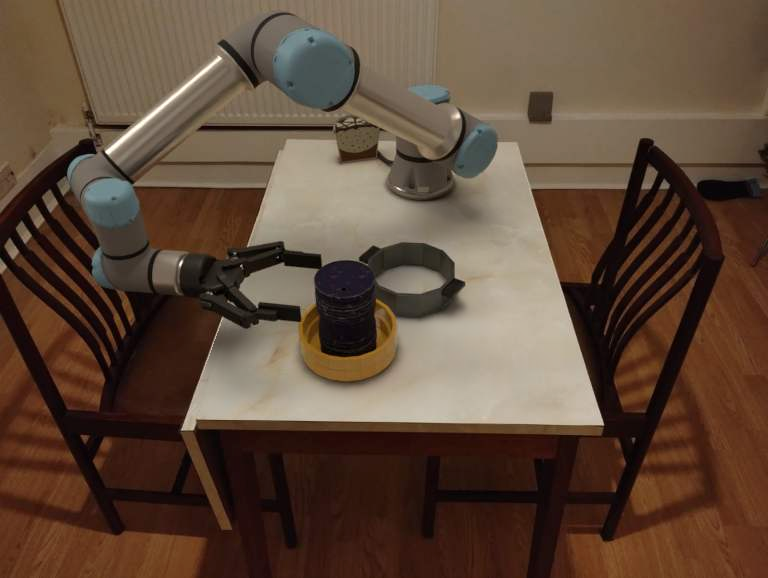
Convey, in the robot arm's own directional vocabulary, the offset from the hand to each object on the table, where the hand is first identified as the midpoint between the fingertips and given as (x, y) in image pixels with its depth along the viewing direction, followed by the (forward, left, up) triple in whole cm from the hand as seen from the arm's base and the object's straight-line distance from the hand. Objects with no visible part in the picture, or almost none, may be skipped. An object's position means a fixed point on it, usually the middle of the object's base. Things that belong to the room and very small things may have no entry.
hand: (311, 286), depth 108 cm
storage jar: (+3, +4, -12) cm, 14 cm away
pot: (-7, +22, -13) cm, 26 cm away
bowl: (+3, +5, -13) cm, 14 cm away
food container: (-61, +34, -13) cm, 71 cm away
